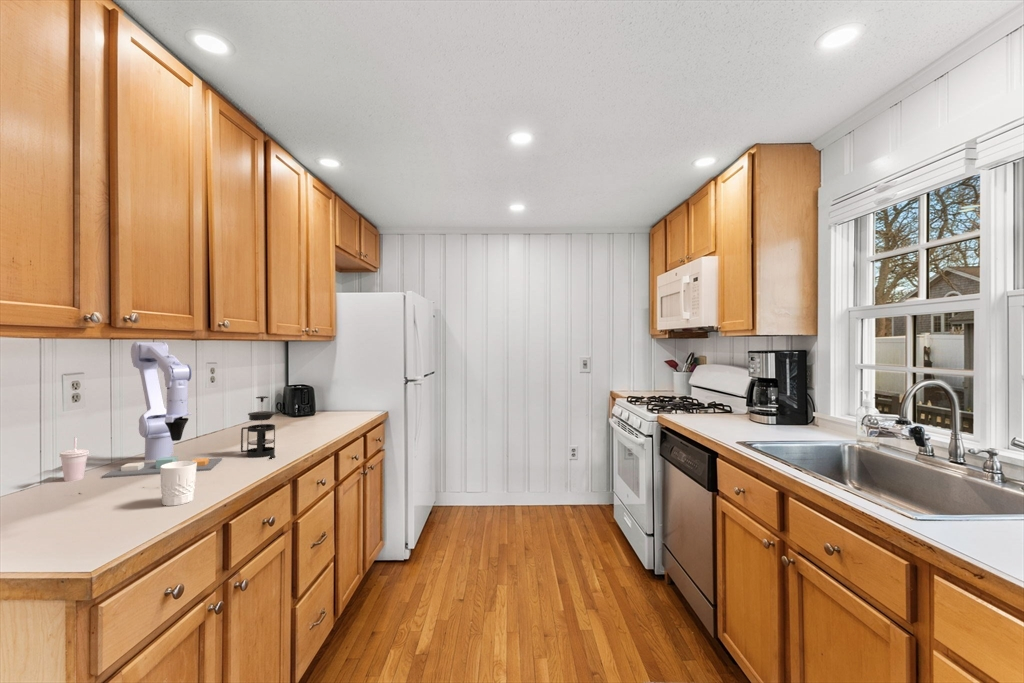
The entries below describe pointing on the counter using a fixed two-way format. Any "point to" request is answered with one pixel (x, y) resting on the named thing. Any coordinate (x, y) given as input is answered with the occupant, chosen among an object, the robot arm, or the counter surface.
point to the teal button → (165, 461)
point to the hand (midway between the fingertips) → (176, 440)
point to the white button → (132, 466)
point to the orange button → (201, 461)
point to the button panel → (151, 469)
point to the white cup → (178, 482)
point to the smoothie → (74, 463)
